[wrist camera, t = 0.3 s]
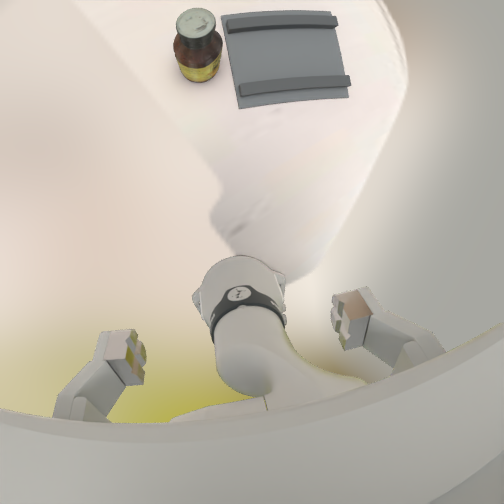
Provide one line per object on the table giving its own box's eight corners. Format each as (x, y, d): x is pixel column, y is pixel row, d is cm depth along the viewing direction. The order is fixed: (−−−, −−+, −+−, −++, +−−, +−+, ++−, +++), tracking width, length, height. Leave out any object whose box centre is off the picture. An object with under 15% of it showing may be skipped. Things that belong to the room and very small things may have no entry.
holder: (347, 97, 45) (355, 96, 42) (239, 109, 43) (241, 107, 41) (329, 12, 37) (336, 7, 34) (220, 16, 36) (221, 10, 33)
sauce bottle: (220, 81, 41) (230, 50, 23) (182, 86, 40) (167, 57, 22) (217, 46, 38) (225, -2, 20) (179, 51, 37) (164, 5, 20)
